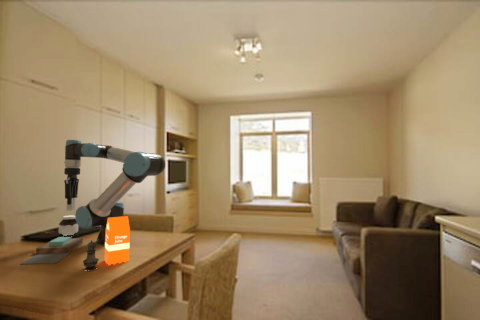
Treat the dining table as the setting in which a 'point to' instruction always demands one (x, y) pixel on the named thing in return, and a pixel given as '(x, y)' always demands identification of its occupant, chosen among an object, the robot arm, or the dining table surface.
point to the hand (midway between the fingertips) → (70, 209)
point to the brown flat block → (60, 247)
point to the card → (60, 241)
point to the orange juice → (117, 240)
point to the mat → (45, 258)
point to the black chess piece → (90, 257)
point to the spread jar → (68, 225)
